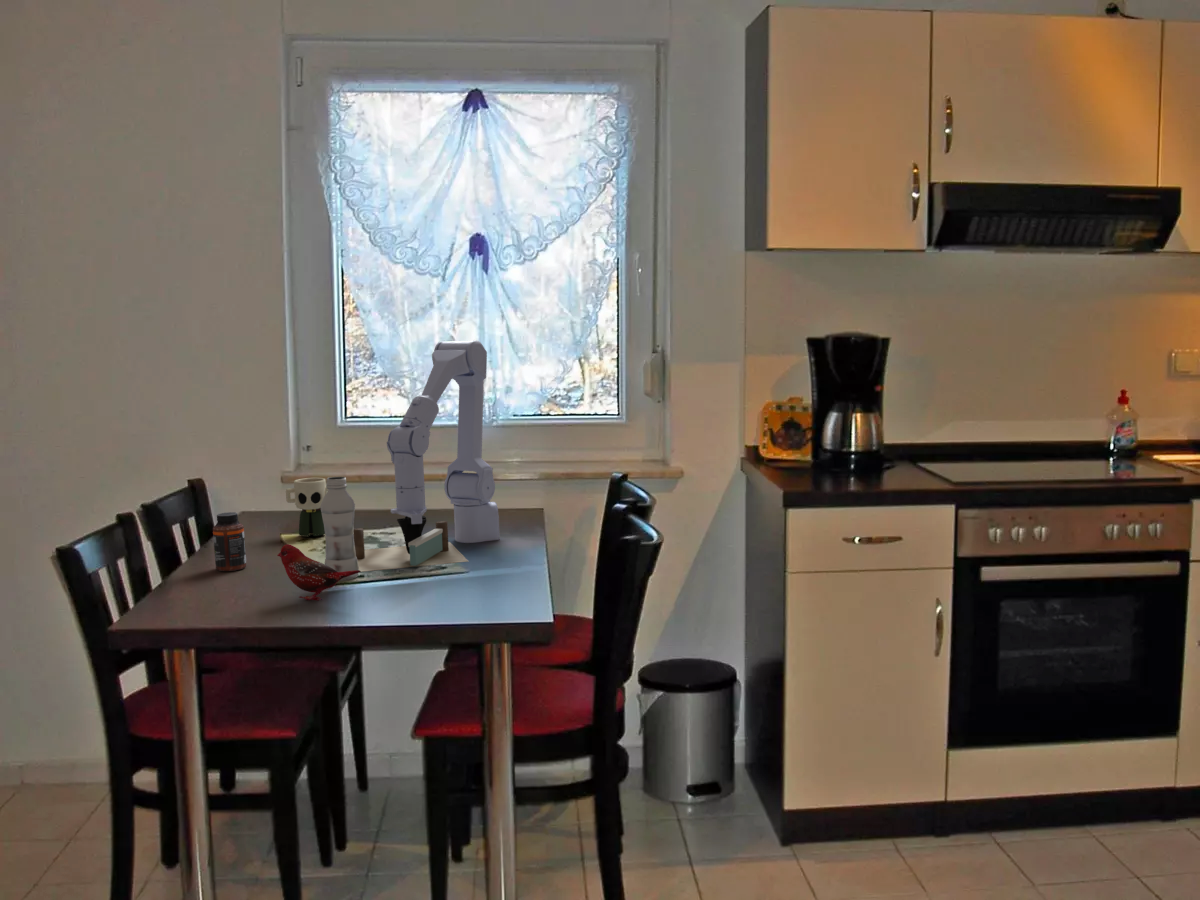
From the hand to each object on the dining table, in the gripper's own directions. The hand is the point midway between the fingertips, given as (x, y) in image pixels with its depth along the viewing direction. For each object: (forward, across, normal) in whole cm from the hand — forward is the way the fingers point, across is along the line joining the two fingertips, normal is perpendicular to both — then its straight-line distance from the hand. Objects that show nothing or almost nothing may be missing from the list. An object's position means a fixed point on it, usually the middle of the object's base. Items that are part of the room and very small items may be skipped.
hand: (413, 553), depth 230 cm
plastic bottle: (+2, +9, -15) cm, 18 cm away
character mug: (+3, -39, -17) cm, 43 cm away
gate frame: (+2, -4, -1) cm, 5 cm away
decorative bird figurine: (+2, +22, -20) cm, 30 cm away
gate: (+1, +1, +3) cm, 3 cm away
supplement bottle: (+3, -12, -35) cm, 37 cm away
